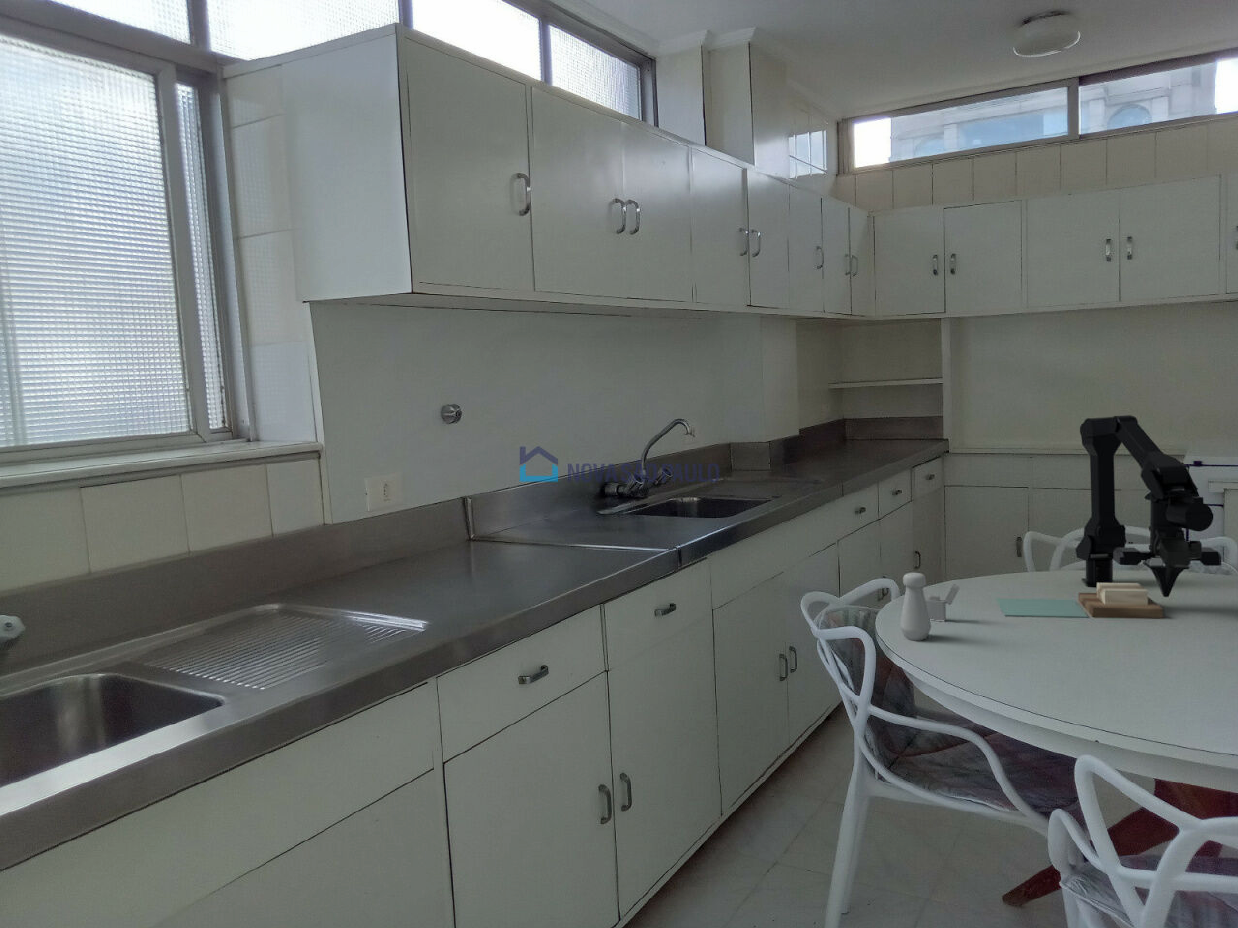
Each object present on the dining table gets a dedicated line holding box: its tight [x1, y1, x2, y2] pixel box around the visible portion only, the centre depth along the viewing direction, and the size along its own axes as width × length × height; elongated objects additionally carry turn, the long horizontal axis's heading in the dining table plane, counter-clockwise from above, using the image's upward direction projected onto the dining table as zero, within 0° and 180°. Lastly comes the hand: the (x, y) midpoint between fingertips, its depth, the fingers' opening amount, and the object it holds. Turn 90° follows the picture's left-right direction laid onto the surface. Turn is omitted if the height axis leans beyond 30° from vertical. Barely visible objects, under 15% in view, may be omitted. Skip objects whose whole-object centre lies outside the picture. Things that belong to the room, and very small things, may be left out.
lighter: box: [925, 583, 961, 620], centre depth 189 cm, size 7×2×8 cm, turn 57°
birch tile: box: [1096, 582, 1149, 605], centre depth 191 cm, size 7×8×3 cm
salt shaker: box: [900, 572, 932, 641], centre depth 178 cm, size 6×6×13 cm
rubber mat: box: [995, 597, 1089, 619], centre depth 195 cm, size 14×16×1 cm
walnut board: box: [1078, 592, 1164, 620], centre depth 191 cm, size 13×13×2 cm
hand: (1165, 596), depth 188 cm, fingers closed
